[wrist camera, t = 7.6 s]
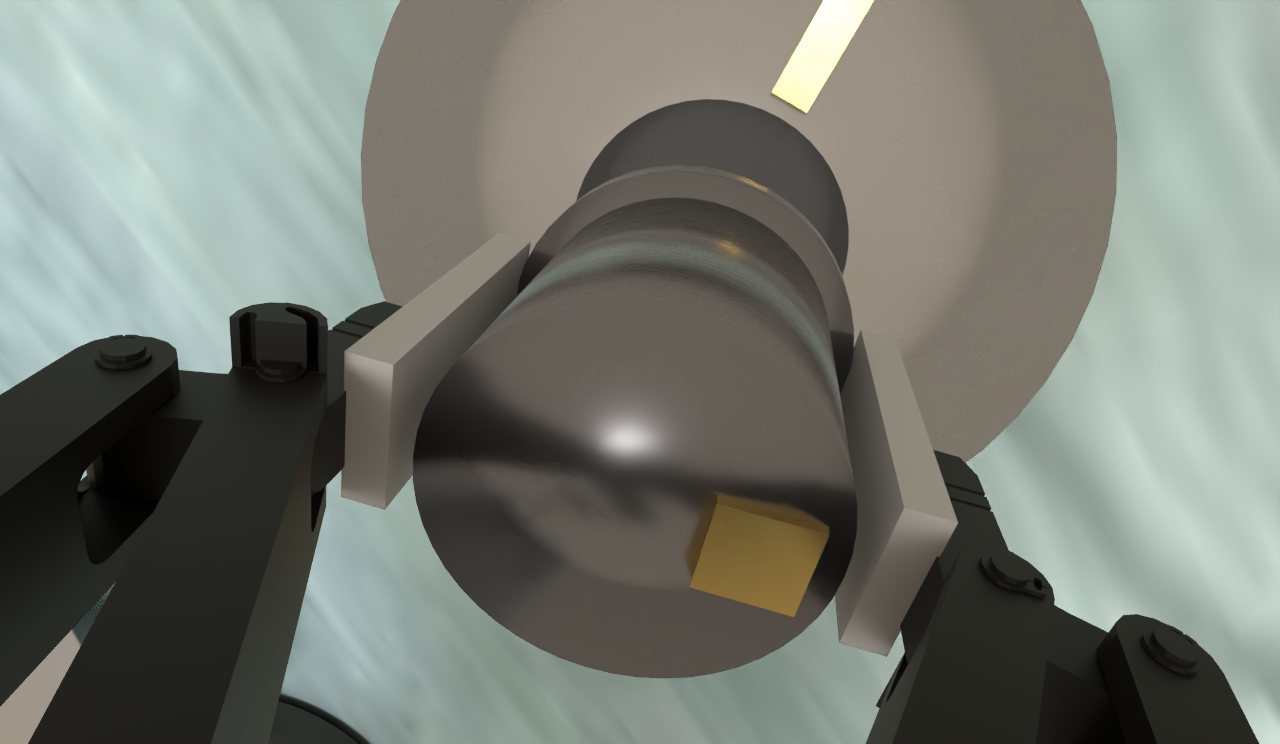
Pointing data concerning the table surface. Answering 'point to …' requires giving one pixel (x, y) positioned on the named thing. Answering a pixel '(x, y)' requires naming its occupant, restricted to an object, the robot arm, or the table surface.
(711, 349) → the cover
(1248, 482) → the table surface
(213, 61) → the table surface
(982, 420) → the turntable
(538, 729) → the table surface
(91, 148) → the table surface
